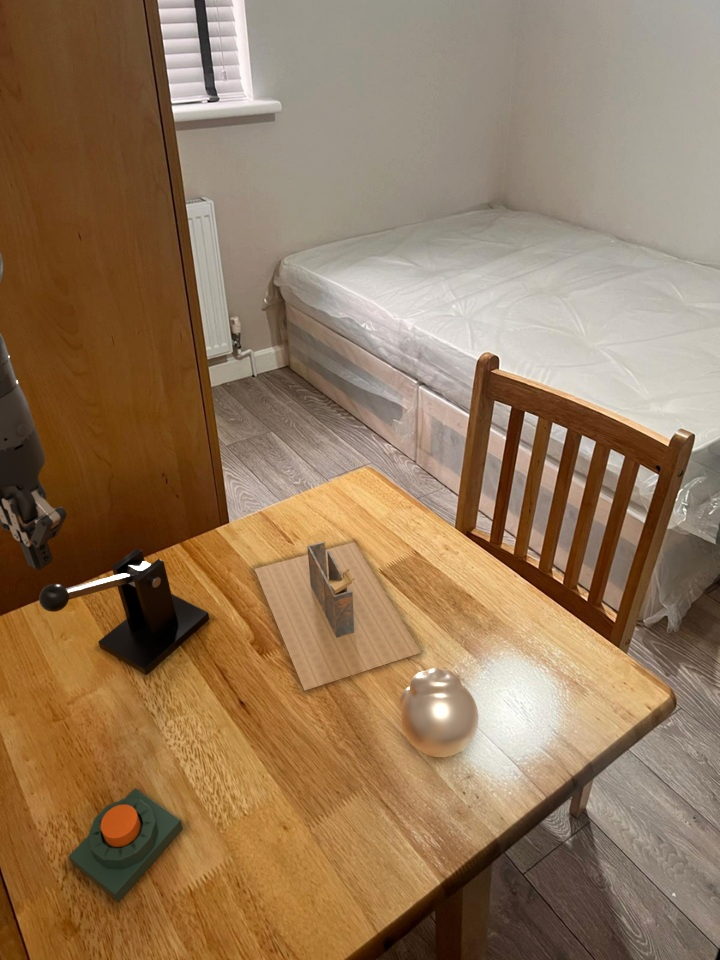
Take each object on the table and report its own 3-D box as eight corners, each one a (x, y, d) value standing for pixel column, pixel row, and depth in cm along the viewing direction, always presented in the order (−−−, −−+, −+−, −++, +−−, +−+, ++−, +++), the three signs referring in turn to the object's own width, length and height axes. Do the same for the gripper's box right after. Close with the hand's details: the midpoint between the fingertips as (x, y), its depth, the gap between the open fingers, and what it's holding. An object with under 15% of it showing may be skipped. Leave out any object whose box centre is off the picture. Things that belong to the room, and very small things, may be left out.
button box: (118, 903, 72) (110, 885, 70) (72, 864, 75) (63, 846, 73) (183, 828, 78) (178, 810, 76) (138, 796, 81) (131, 777, 79)
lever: (49, 619, 82) (52, 593, 82) (31, 608, 84) (34, 582, 83) (155, 587, 96) (158, 565, 95) (138, 578, 98) (141, 556, 97)
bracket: (146, 675, 95) (126, 605, 88) (100, 648, 99) (77, 578, 92) (209, 619, 103) (195, 550, 96) (164, 595, 108) (147, 527, 100)
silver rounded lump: (475, 707, 90) (480, 651, 84) (476, 776, 82) (482, 720, 77) (401, 701, 91) (402, 646, 85) (396, 769, 83) (396, 713, 78)
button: (121, 854, 73) (117, 844, 72) (96, 835, 74) (92, 826, 73) (147, 825, 75) (144, 815, 74) (124, 807, 77) (120, 797, 76)
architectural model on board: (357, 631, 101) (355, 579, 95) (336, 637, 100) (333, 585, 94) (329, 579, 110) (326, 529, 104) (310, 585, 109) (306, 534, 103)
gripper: (-82, 429, 72) (-25, 562, 82) (0, 468, 66) (51, 607, 75) (-14, 397, 77) (33, 526, 87) (68, 431, 71) (108, 565, 81)
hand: (41, 563), depth 81 cm, fingers closed
